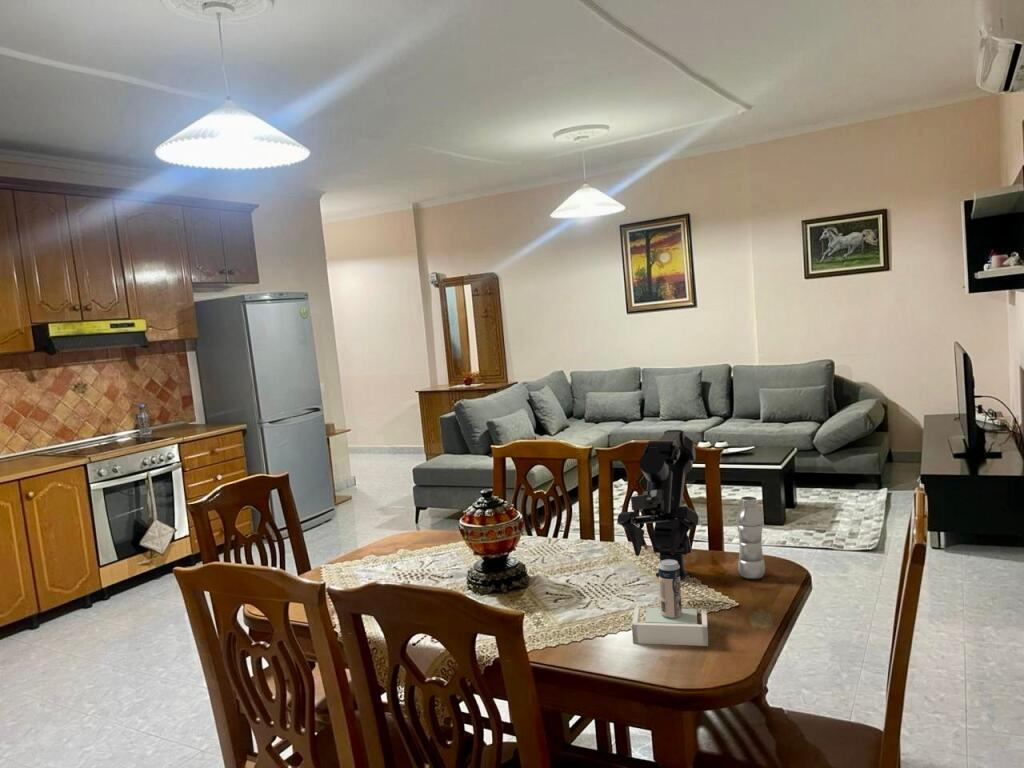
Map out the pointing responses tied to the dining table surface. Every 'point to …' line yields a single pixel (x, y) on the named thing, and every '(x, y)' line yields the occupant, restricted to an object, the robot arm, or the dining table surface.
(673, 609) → the pill bottle
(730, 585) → the dining table surface
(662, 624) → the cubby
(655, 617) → the mat
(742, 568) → the plastic bottle
